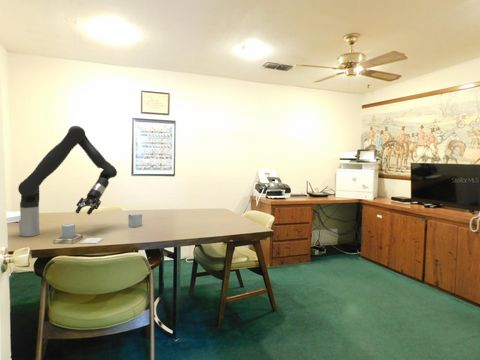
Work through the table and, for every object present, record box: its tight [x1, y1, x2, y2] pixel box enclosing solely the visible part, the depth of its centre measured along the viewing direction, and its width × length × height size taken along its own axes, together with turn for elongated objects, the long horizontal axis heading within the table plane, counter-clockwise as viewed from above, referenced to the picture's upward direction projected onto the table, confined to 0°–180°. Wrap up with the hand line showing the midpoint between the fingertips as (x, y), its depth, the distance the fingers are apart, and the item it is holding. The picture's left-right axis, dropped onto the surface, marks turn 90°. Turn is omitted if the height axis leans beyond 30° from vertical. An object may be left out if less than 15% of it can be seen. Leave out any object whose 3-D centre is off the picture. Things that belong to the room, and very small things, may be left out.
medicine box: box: [127, 212, 143, 229], centre depth 210 cm, size 8×4×9 cm, turn 141°
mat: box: [79, 237, 104, 245], centre depth 174 cm, size 9×10×1 cm
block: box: [61, 223, 76, 239], centre depth 173 cm, size 4×4×9 cm
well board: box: [52, 233, 84, 245], centre depth 173 cm, size 11×11×2 cm
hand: (82, 213), depth 182 cm, fingers open, 8 cm apart
